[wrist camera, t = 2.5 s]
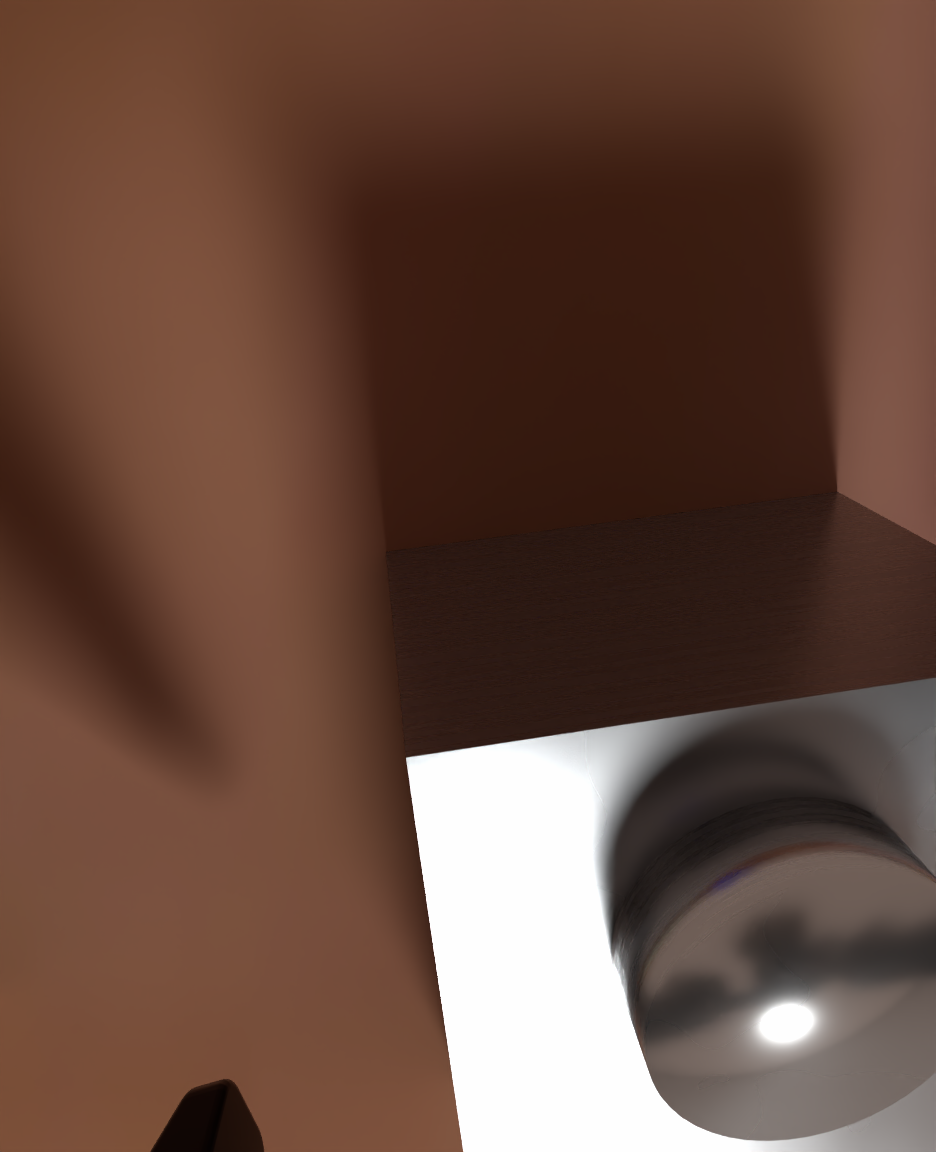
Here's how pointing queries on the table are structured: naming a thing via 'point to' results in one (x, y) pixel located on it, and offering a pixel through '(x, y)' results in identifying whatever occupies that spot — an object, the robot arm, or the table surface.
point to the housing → (680, 828)
